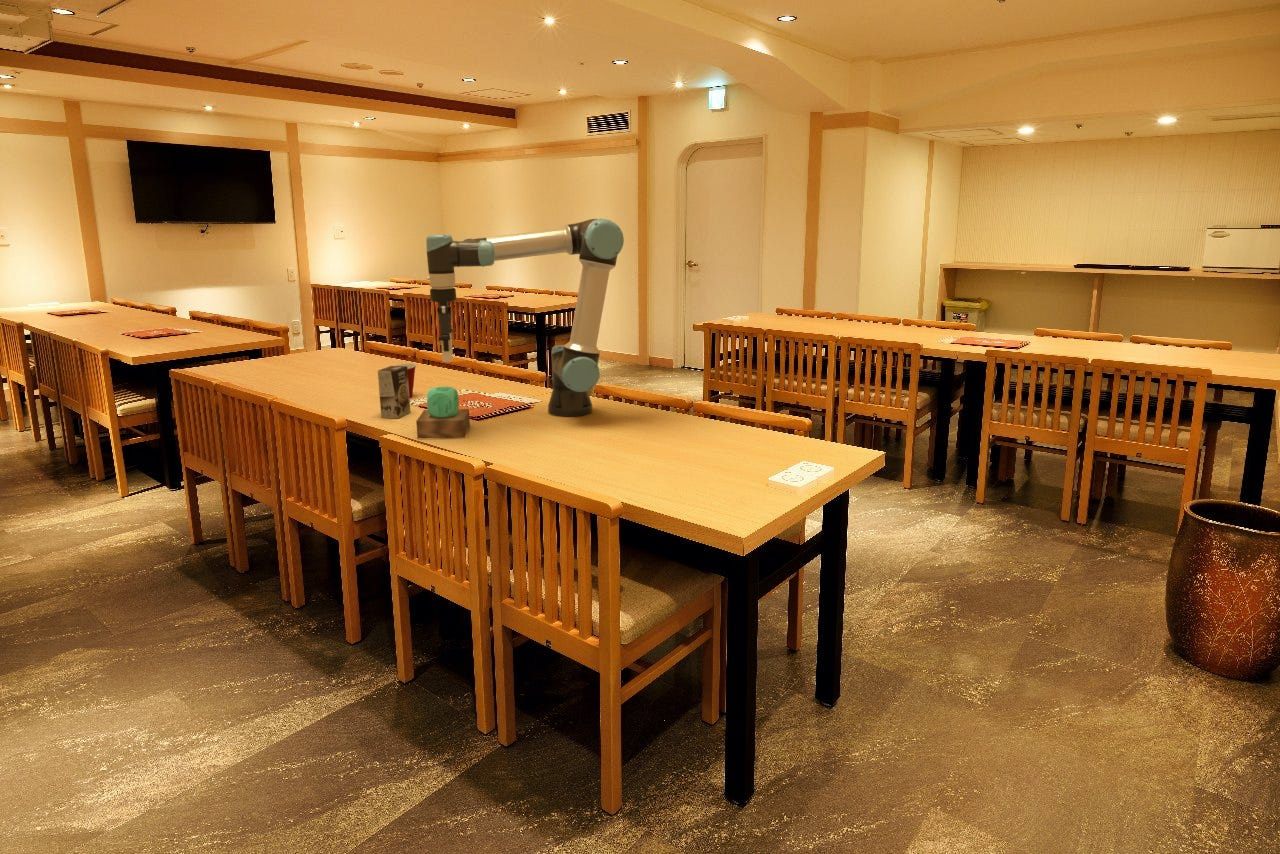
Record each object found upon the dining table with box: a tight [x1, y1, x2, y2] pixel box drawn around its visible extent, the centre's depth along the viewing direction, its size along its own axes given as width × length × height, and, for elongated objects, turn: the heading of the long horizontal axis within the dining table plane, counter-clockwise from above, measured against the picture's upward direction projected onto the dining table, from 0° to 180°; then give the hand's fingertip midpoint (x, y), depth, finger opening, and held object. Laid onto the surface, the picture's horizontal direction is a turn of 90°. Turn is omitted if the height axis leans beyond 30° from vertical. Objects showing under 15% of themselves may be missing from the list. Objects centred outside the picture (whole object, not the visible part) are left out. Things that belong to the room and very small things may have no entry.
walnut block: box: [415, 408, 471, 439], centre depth 245 cm, size 14×14×6 cm
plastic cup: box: [391, 362, 417, 399], centre depth 290 cm, size 11×11×12 cm
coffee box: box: [377, 365, 412, 419], centre depth 264 cm, size 9×6×16 cm
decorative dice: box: [426, 386, 460, 418], centre depth 243 cm, size 8×8×8 cm
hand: (447, 358), depth 242 cm, fingers open, 13 cm apart
